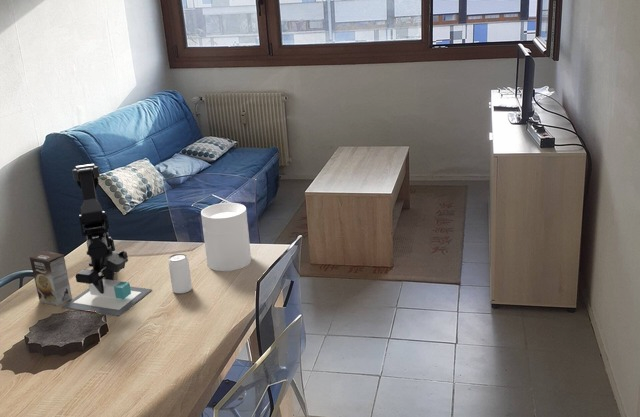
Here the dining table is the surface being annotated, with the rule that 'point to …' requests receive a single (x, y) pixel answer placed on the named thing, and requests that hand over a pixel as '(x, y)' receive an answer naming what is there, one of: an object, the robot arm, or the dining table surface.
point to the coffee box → (51, 277)
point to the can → (180, 273)
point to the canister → (226, 236)
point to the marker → (112, 289)
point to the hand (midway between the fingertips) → (106, 290)
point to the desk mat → (106, 302)
